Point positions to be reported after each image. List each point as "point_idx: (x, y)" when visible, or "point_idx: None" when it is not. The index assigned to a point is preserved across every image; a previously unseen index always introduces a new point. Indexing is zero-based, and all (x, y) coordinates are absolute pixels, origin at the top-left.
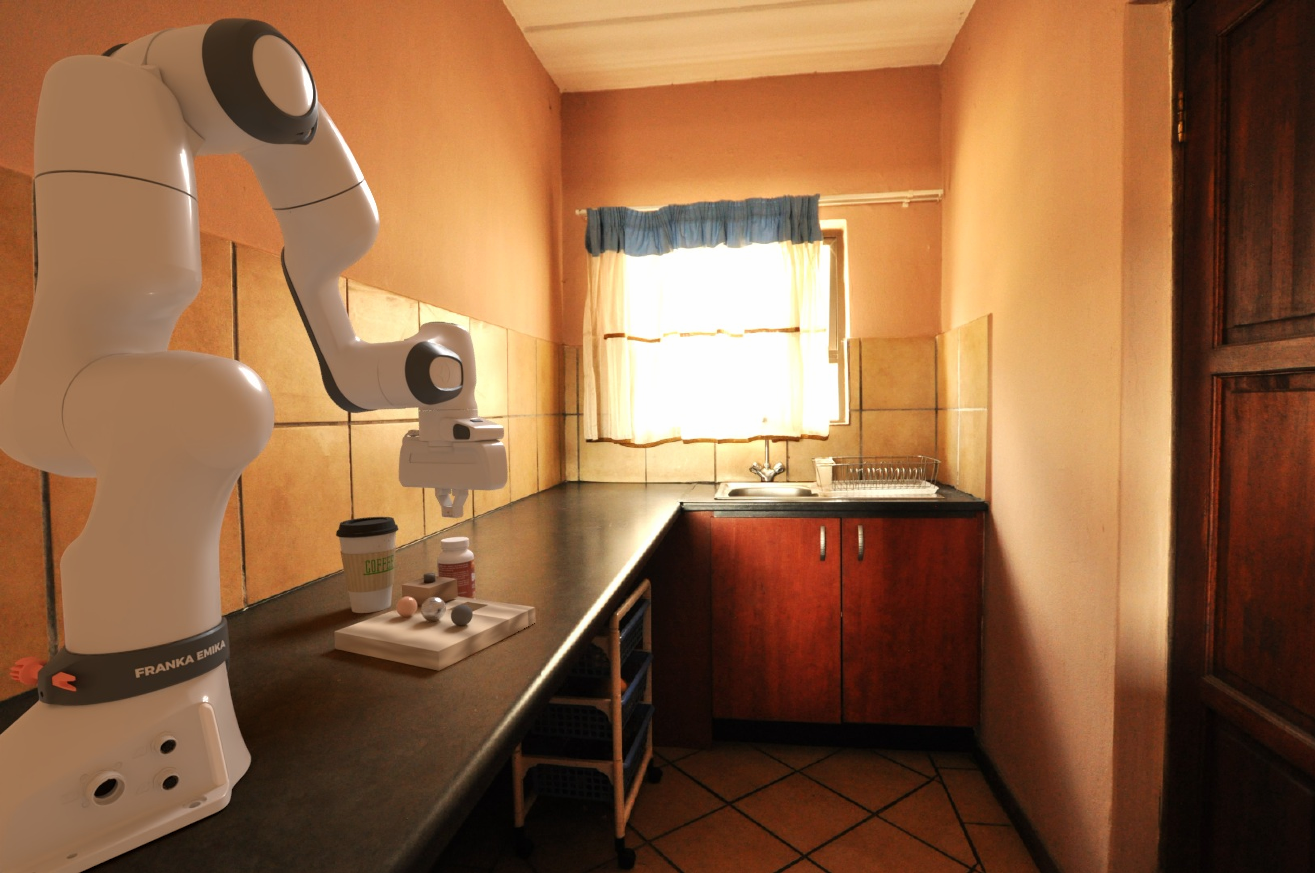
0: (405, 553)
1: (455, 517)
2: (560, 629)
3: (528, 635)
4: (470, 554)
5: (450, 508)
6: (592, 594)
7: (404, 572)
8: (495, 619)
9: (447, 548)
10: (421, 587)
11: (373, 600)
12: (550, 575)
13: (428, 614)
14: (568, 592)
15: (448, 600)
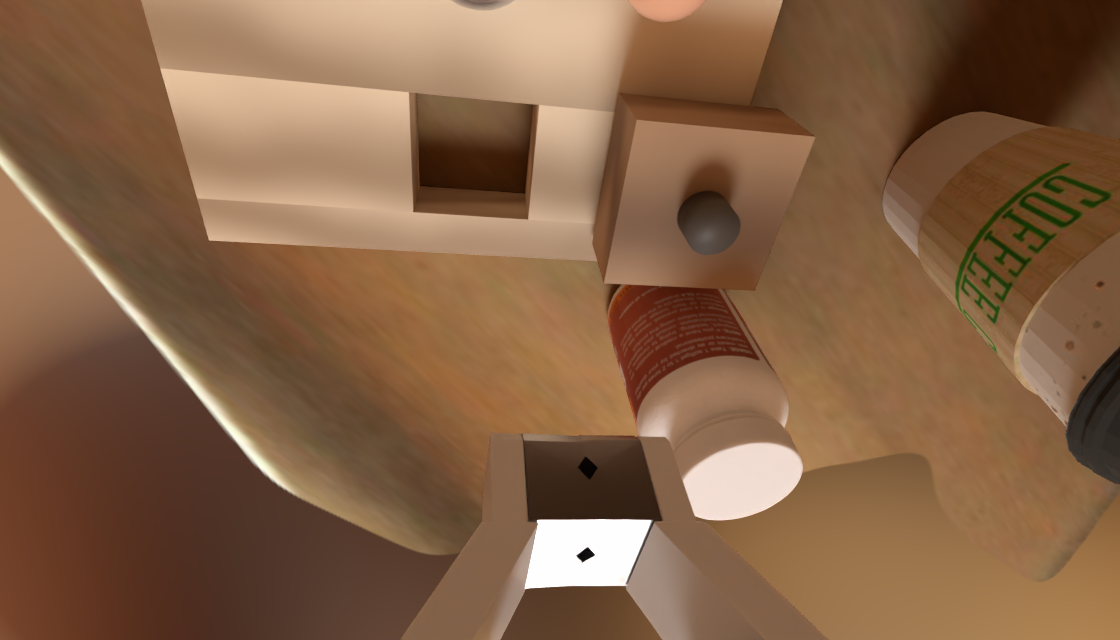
0: (1033, 554)
1: (496, 433)
2: (84, 181)
3: (130, 84)
4: None
5: (557, 503)
6: (299, 464)
7: (975, 456)
8: (214, 46)
9: (736, 418)
10: (688, 125)
11: (944, 152)
12: None
13: None
14: (382, 459)
15: None
